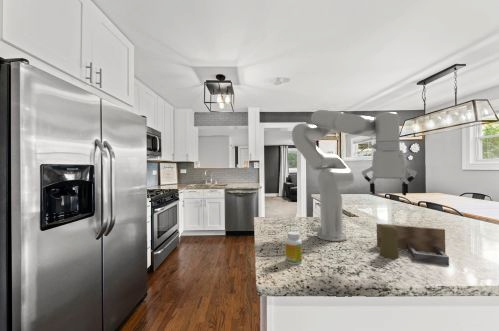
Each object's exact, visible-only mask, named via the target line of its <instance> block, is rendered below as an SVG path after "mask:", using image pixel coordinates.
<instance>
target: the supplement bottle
mask: <svg viewBox="0 0 499 331" xmlns="http://www.w3.org/2000/svg"><path fill="white" fill-rule="evenodd" d="M285 262H286V263H287V264H289V265H295V266H296V265H300V264H302V262H303V243H302V240H301V239H300V232H298V231H289V232H287V238H286V239H285Z"/></svg>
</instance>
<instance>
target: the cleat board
mask: <svg viewBox="0 0 499 331" xmlns="http://www.w3.org/2000/svg"><path fill="white" fill-rule="evenodd" d="M382 225H392V226H395V227H396V229H397V234H396V235H395V237H396V243H397V249H398V250H404V251H408V254H409V255H410V256H411V258H412V260H413V261H416V262H422V263H432V264H438V265H439V264H440V265H447V266H449V265H450V257H449V255H447V254H446V229H445V228H440V227H429V226H428V227H427V226H414V225H404V224H391V223H390V224H389V223H388V224H387V223H378V222H377V223H376V247H379V248H380V246H381V239H382V233H381V231H380V228H381V226H382Z"/></svg>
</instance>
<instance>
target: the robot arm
mask: <svg viewBox="0 0 499 331" xmlns="http://www.w3.org/2000/svg"><path fill="white" fill-rule="evenodd" d="M310 119H311V123H305V122H303V123H302V122H301V123H298V124H296V125H294V126H293V129H292V132H291V138H292V142H293V145H294V147H295V148H296V149H297V150H298V152H299V153H300V154H301V155H302V156H303V159H304V160H305V161H306V163H307V164H308V165H309V166H310V167H311V170H313V171H314V172H317V173H318V175H317V185H318V189H319V200H320V202H319V204H320V225H319V226H311V227H310V231H312V232H314V233H315V232H317V234H316V237H317V238H319V239H321V240H324V241H328V242H342V241H346V240H347V235H346V234H344V233H343V198H342V194H341V192H340V189H341V190H342V189H348V188H350V187H351V186H353V184H354V181H355V176H354V173H353V171H352V170H351V169H350V168H349V167H348V165H347V164H346V163H345V162H344V161H343V159H341V157H340V156H339V155H337V154H335V153H333V152H332V153H331V152H324V151H322V150H321V149H320V148H319V147H318V145H317V144H315V142H313V141H316V142H317V141H321V140H322V139H324V138H325V137H327V136H328V135H329V134H331V133H332V132H333V131H334V132H339V133H343V134H348V135H352V136H362V137H369V138H370V137H375V143H374V144H371V146H370V147H371V149H374V151H373V153H372V162H371V167H370V166H369V168H367V169H364V170H362V171H361V174H362V177H363V178H364V179H365V181H366V182H368V183H369V192H370V193H371V195H372V196H373V195H375V192H376V189H375V188H376V187H375V185H376V184H375V181H376V180H377V179H389V180H391V179H392V180H393V179H399V180H400V181H401V182H402V183H401V194H402V195H403V196H407V194H408V193H409V184H410V182H412V181H413V180H414V178H415V177H416V175H417V174H418V171H416V170H414V169H412V168H411V167H407V166H406V164H405V163H406V162H405V161H406V160H405V155H404V151H403V150H402V149H401V148H400V147H401V144H400V115H399V114H398V112H393V111H388V112H387V111H386V112H382V113H378V114H377V115H376V116H375V117H373V116H367V115H359V114H352V113H346V112H342V111H336V110H329V109H327V110H326V109H317V110H315V111H314V112H313V113H312V114H311V118H310ZM370 172H371V173H372V177H371V178H370V177H369V176H368V173H370ZM406 172H408V173H410V175H409V177H407V178H406V175H407V174H406Z"/></svg>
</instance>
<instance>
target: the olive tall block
mask: <svg viewBox="0 0 499 331" xmlns="http://www.w3.org/2000/svg"><path fill="white" fill-rule="evenodd" d="M392 225H393V224H391V225H382V226H381V228H380V231H381V233H382V239H381V246H380V247H379V254H378V255H379V256H380V257H382V258H384V259H388V260H398V259H399V258H400V257H399V256H400V255H399V249H397V243H396V237H395V235H396V234H397V229H396V227H395V226H392Z"/></svg>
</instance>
